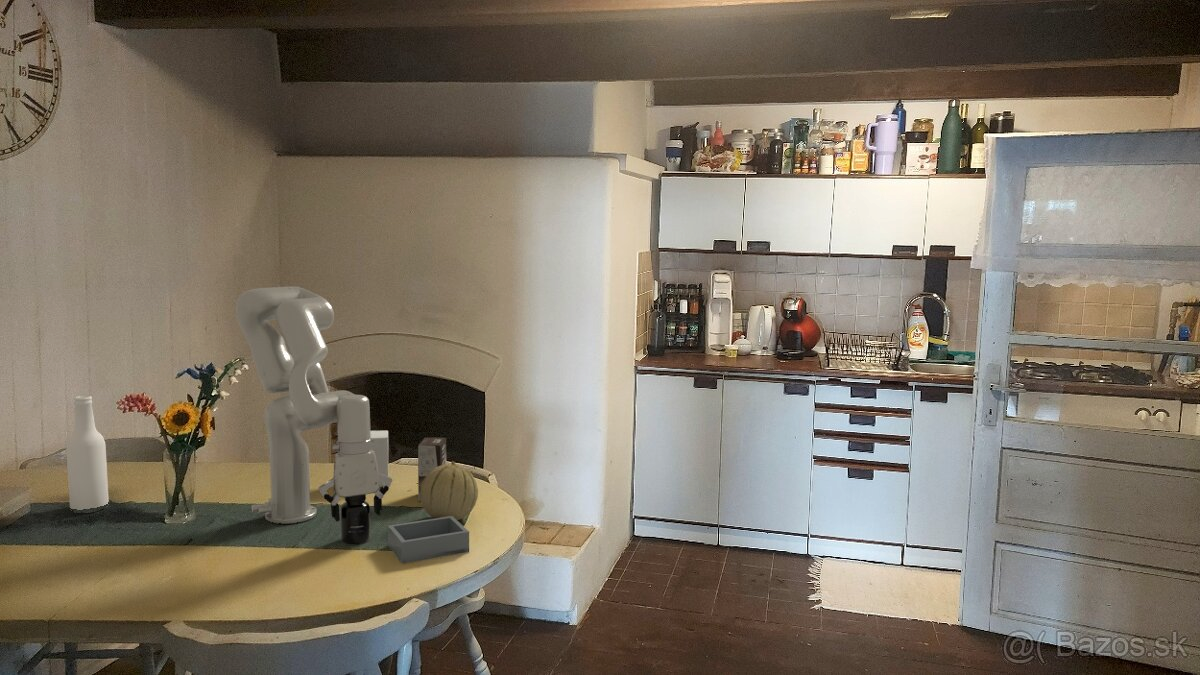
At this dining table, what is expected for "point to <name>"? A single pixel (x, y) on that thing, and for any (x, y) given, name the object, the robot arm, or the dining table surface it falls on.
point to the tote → (428, 539)
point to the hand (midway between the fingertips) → (357, 516)
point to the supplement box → (380, 451)
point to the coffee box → (430, 457)
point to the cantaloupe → (449, 492)
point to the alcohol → (86, 460)
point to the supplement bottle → (355, 520)
